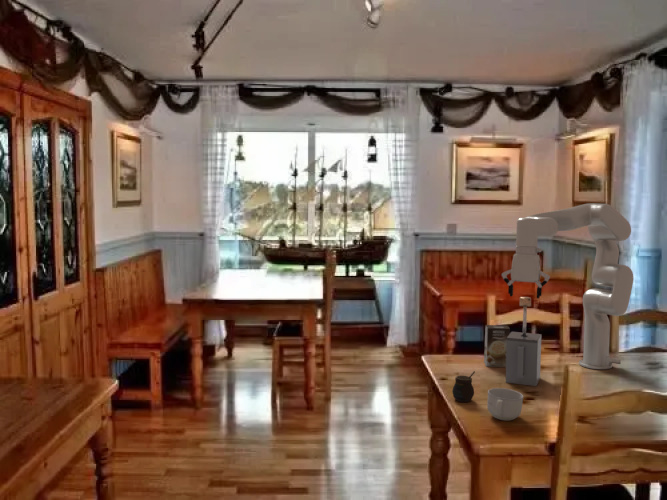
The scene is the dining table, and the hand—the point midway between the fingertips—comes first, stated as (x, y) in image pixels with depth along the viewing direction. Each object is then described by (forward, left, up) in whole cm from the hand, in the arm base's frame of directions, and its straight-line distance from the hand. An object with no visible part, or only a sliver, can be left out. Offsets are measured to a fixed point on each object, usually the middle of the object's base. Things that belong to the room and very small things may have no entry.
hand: (524, 296), depth 232 cm
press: (0, +1, -32) cm, 32 cm away
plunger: (0, 0, -18) cm, 18 cm away
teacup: (0, +44, -32) cm, 54 cm away
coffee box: (+13, -17, -32) cm, 39 cm away
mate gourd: (+15, +31, -32) cm, 47 cm away
